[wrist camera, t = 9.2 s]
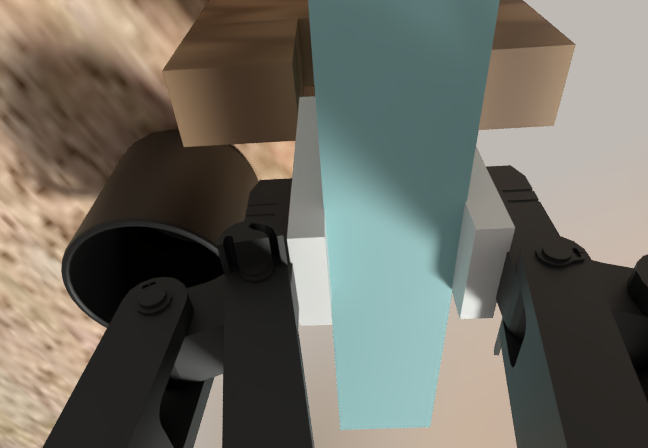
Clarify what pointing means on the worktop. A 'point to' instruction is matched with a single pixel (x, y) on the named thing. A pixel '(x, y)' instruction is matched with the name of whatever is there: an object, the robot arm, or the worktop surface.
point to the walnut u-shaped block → (297, 71)
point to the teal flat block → (395, 187)
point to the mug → (156, 221)
